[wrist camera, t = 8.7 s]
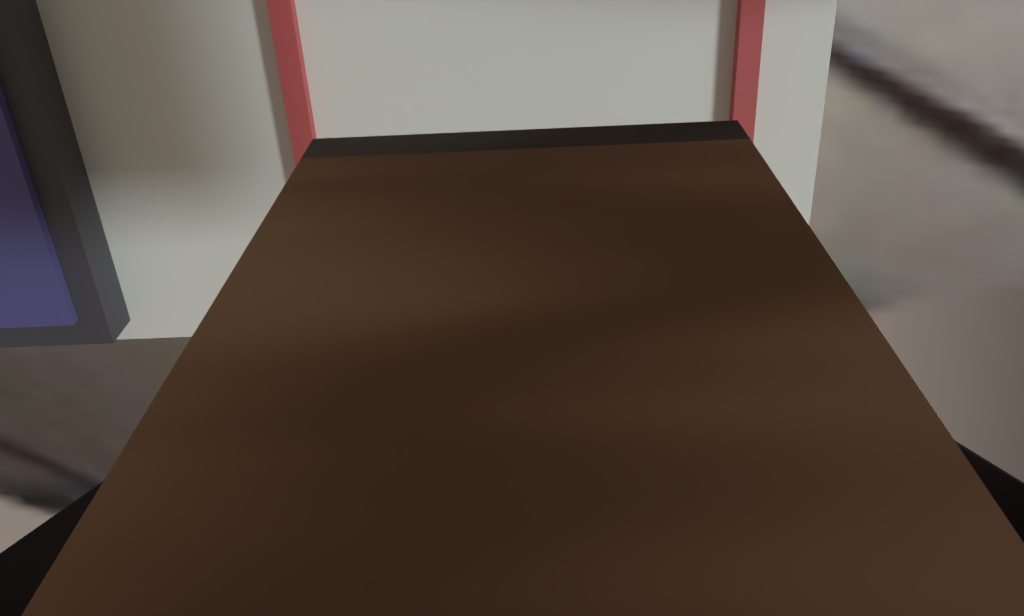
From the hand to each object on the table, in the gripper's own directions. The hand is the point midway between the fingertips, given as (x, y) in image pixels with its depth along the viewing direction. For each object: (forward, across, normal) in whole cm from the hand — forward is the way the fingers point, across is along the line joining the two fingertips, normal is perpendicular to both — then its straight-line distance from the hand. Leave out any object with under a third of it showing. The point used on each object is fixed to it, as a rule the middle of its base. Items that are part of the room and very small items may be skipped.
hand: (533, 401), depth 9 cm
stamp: (+2, 0, 0) cm, 2 cm away
